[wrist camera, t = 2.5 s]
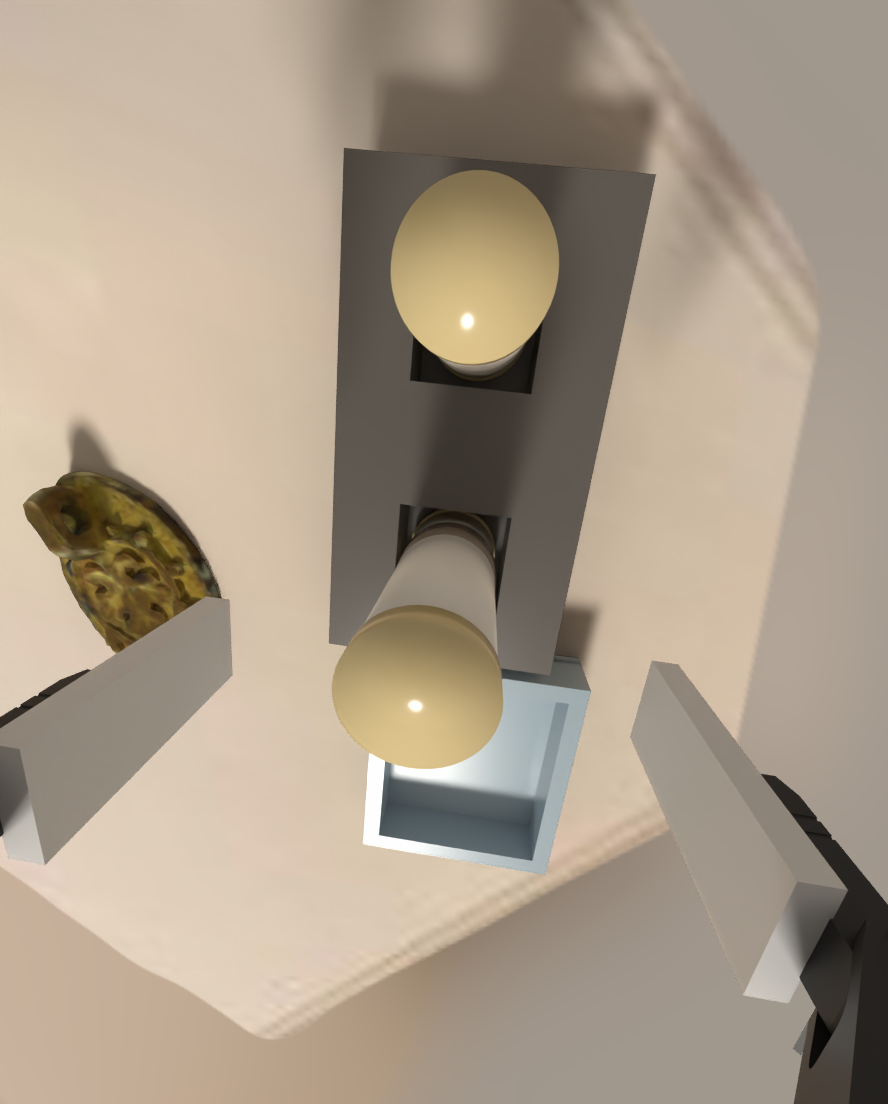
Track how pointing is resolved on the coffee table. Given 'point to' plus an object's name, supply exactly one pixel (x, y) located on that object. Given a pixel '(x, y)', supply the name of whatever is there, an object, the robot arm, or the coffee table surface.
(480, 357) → the fuse
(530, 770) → the parts tray
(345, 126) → the coffee table surface
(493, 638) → the cylinder
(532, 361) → the fuse holder
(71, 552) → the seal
